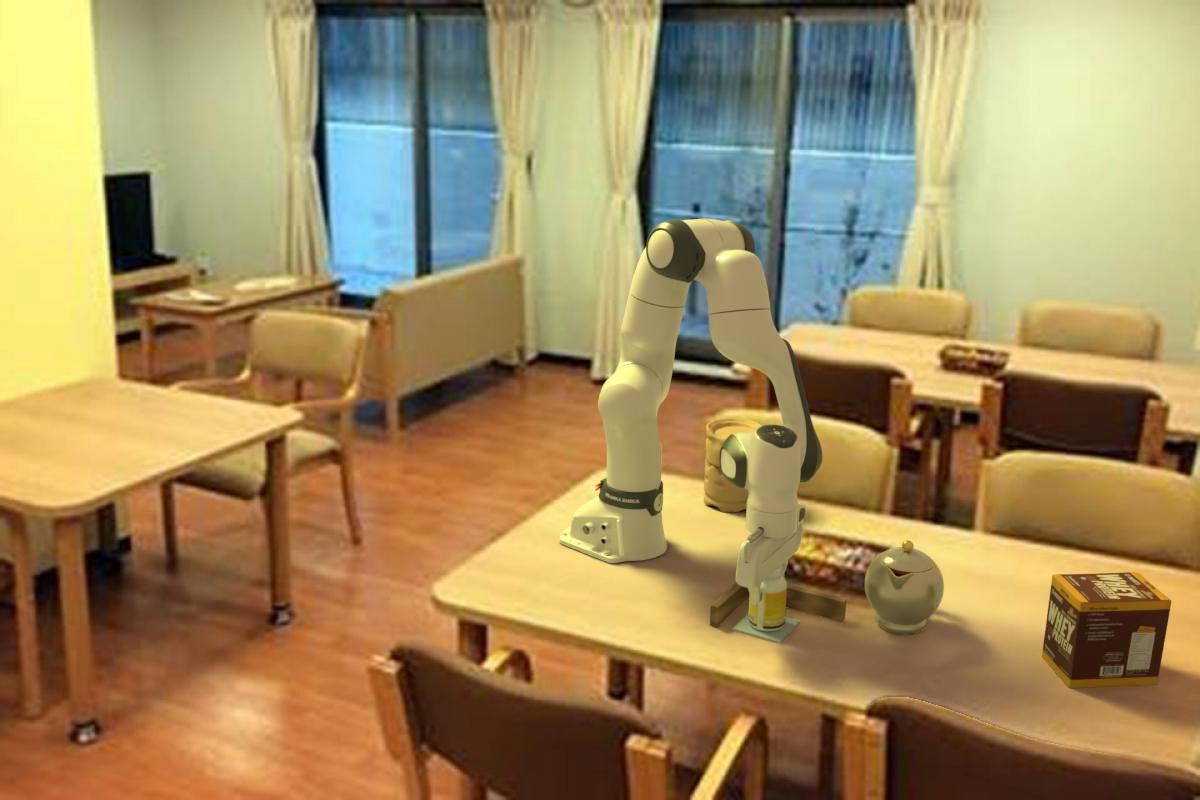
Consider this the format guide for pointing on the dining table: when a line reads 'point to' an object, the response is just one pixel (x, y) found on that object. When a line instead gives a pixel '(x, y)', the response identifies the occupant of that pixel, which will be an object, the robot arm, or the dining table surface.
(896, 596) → the teapot
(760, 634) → the pad
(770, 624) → the pill bottle
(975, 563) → the dining table surface
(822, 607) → the wooden l-shaped wall
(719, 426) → the container
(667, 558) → the dining table surface
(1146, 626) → the supplement box
